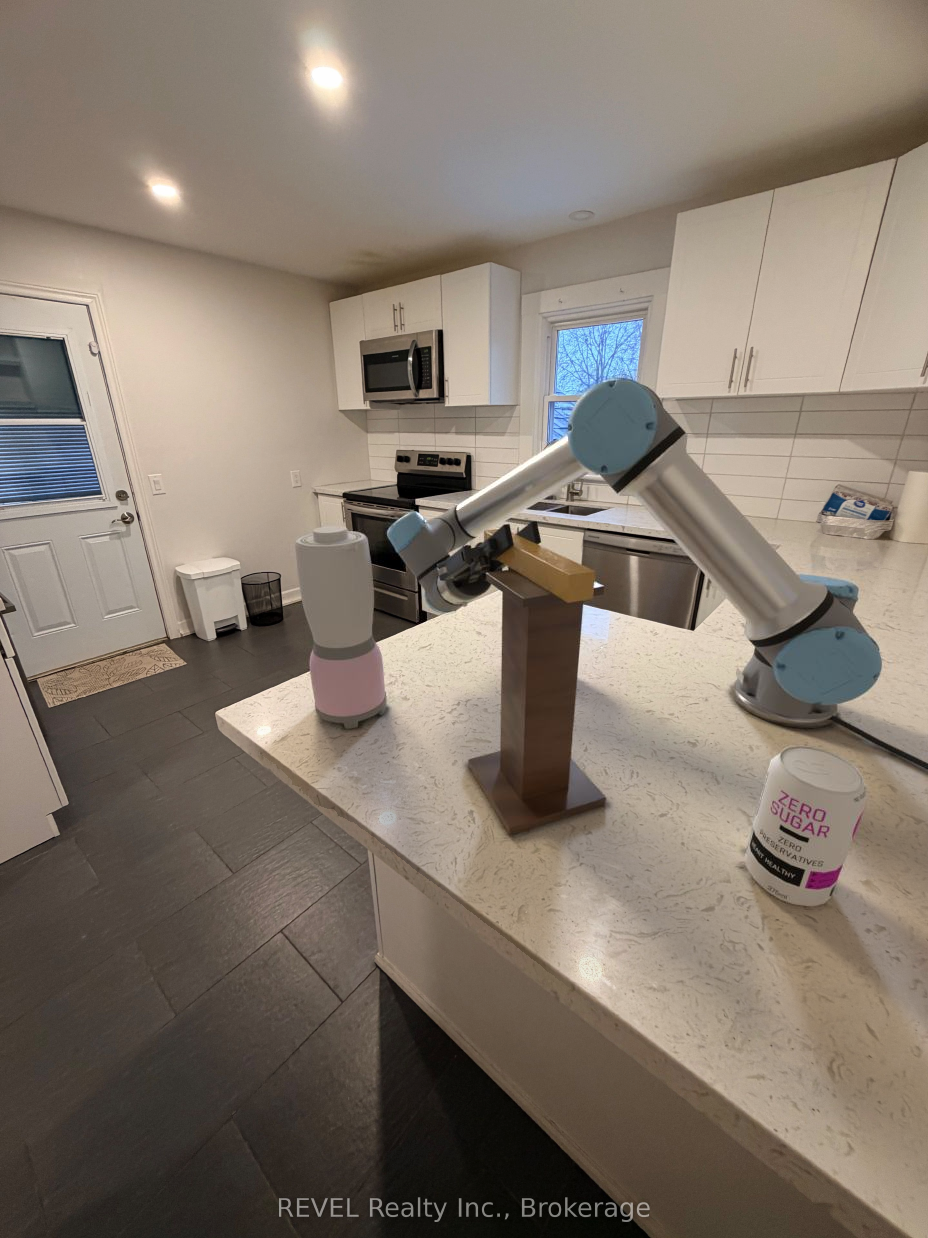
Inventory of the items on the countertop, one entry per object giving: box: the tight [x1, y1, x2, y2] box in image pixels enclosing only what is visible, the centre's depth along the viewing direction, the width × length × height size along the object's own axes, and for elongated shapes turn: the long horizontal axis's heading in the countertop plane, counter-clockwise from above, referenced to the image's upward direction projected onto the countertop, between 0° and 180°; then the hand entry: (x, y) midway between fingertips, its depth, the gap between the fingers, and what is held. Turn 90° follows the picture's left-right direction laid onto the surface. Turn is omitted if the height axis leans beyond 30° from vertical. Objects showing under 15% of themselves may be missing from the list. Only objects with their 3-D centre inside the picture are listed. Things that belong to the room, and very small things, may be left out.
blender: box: [294, 525, 387, 730], centre depth 82 cm, size 16×12×32 cm
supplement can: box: [743, 744, 869, 907], centre depth 52 cm, size 8×8×15 cm
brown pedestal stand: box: [467, 569, 607, 836], centre depth 63 cm, size 14×14×30 cm
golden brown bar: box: [483, 528, 596, 603], centre depth 59 cm, size 22×3×3 cm, turn 21°
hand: (522, 533), depth 60 cm, fingers closed on golden brown bar, 3 cm apart
